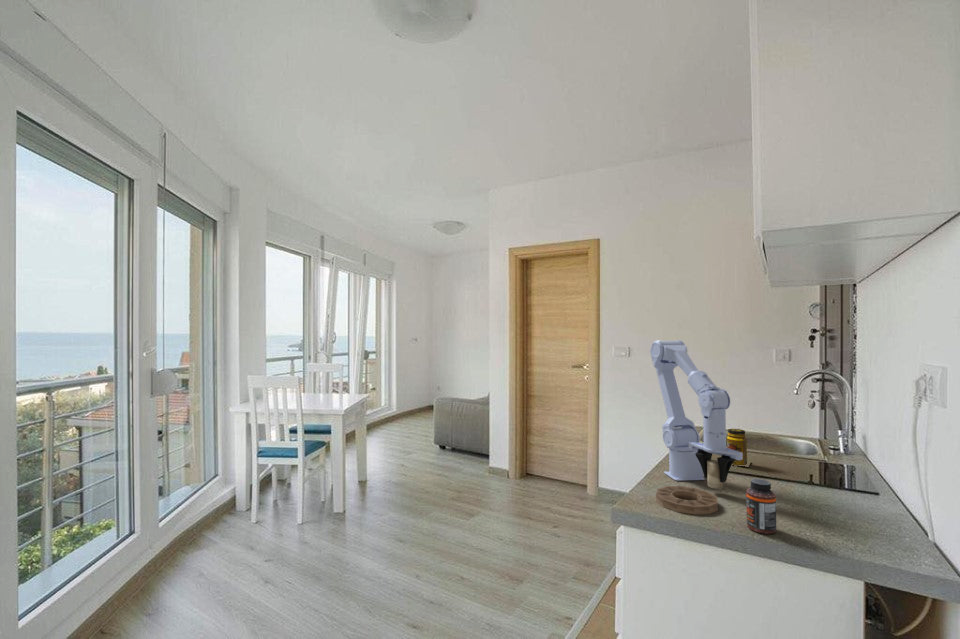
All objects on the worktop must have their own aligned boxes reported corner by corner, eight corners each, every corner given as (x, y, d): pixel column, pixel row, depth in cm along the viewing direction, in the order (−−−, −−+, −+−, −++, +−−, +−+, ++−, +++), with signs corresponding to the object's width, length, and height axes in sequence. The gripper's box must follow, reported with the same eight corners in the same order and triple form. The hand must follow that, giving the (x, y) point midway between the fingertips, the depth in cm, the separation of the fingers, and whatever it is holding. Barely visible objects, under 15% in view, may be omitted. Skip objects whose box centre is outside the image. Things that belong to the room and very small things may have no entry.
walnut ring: (697, 492, 130) (697, 485, 130) (730, 513, 115) (729, 505, 115) (647, 493, 129) (647, 486, 129) (673, 515, 114) (673, 507, 114)
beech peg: (717, 483, 131) (717, 459, 131) (726, 488, 127) (725, 463, 127) (704, 484, 131) (704, 459, 131) (712, 488, 127) (712, 464, 127)
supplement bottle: (741, 524, 109) (740, 476, 109) (766, 524, 109) (765, 477, 109) (755, 535, 103) (755, 485, 103) (782, 535, 103) (781, 485, 103)
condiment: (724, 464, 157) (723, 430, 157) (728, 459, 163) (728, 426, 164) (748, 468, 152) (747, 433, 153) (752, 462, 159) (751, 428, 159)
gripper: (682, 429, 133) (683, 475, 133) (733, 438, 121) (733, 489, 121) (696, 426, 137) (696, 470, 137) (746, 435, 125) (746, 484, 125)
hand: (715, 479), depth 129 cm, fingers closed on beech peg, 4 cm apart
